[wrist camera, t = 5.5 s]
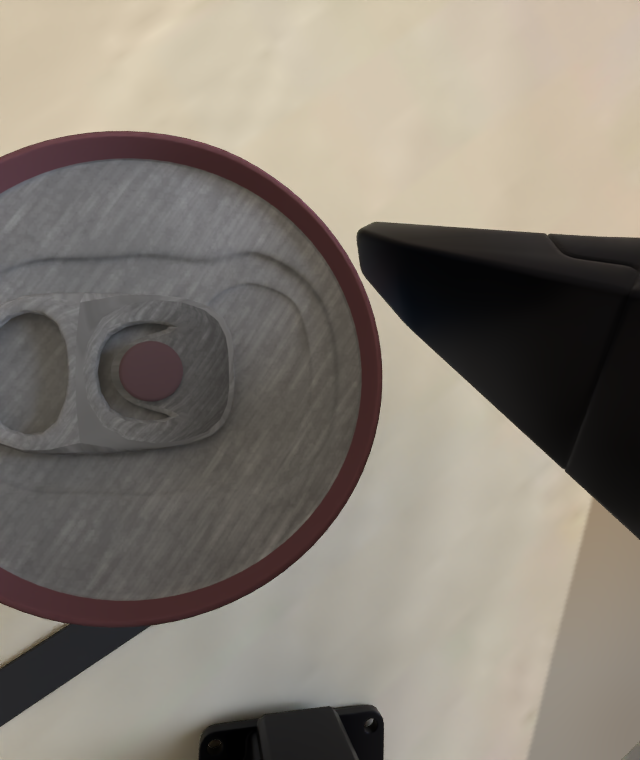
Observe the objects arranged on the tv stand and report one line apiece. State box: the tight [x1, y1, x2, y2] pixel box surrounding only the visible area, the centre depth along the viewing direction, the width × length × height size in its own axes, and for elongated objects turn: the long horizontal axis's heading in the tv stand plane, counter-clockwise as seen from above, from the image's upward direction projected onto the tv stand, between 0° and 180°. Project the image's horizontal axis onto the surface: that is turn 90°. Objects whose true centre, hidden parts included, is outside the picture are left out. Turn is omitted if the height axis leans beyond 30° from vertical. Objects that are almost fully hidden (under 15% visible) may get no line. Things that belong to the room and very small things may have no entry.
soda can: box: [0, 131, 382, 628], centre depth 11 cm, size 7×7×12 cm
